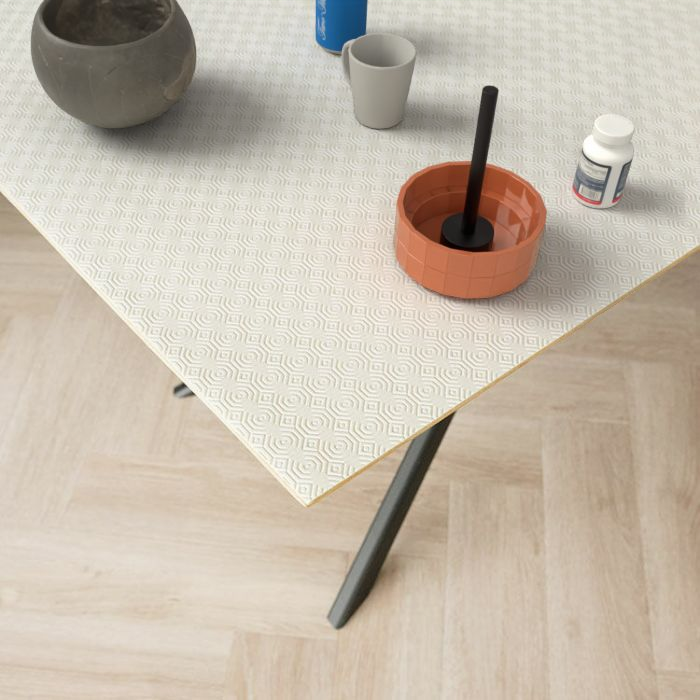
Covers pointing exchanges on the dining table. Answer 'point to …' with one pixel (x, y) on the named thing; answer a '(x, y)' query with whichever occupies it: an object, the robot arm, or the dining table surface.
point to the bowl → (113, 58)
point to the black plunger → (474, 188)
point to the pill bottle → (604, 162)
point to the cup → (379, 77)
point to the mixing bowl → (495, 205)
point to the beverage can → (339, 22)
